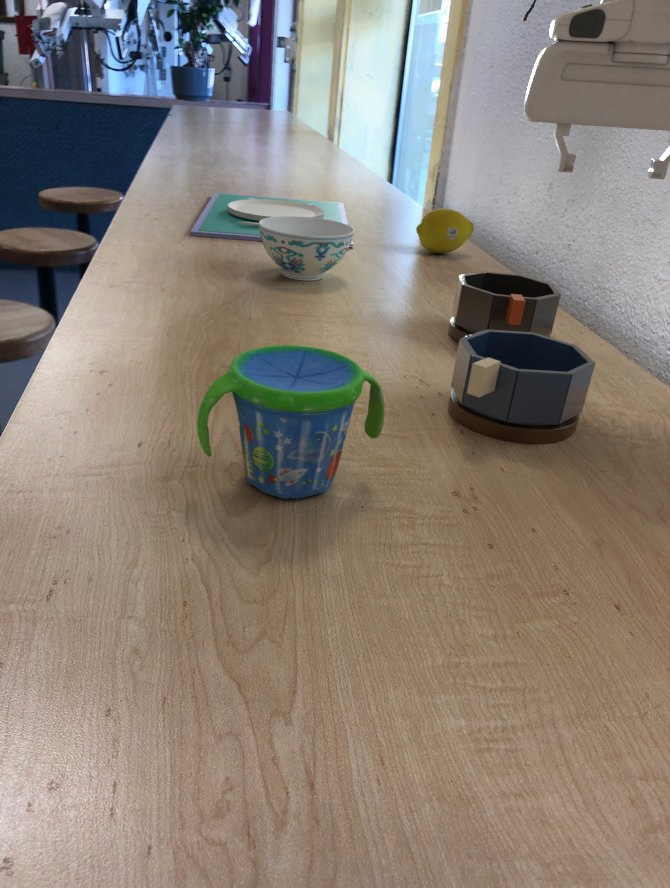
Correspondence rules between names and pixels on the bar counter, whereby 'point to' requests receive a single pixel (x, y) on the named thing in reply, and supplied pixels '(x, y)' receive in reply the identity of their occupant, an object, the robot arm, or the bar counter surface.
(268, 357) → the snack cup
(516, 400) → the slate bowl
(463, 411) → the disc
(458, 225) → the lemon
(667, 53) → the robot arm
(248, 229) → the place mat
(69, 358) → the bar counter surface
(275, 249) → the chinaware
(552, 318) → the dark grey octagonal pot
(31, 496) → the bar counter surface
